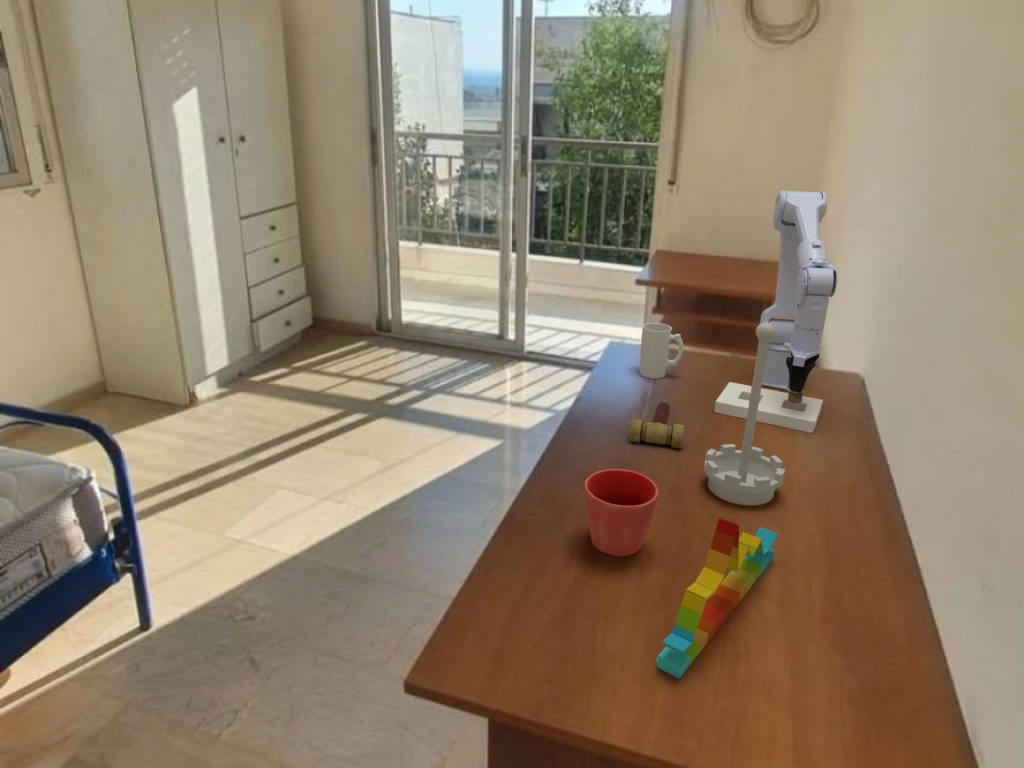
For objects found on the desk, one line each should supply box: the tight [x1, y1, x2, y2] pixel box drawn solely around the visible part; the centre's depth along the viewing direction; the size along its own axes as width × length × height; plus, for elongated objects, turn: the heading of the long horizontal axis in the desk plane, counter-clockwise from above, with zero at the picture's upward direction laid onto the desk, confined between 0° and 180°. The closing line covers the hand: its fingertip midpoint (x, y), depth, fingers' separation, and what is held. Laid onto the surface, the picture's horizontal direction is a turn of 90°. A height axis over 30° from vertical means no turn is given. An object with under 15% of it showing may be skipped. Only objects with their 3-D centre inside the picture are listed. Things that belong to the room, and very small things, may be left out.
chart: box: [656, 517, 778, 679], centre depth 94 cm, size 30×3×15 cm, turn 141°
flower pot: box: [583, 468, 659, 557], centre depth 108 cm, size 11×11×10 cm
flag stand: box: [703, 323, 786, 506], centre depth 120 cm, size 13×13×30 cm
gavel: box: [628, 401, 685, 450], centre depth 148 cm, size 21×5×10 cm
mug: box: [639, 322, 685, 380], centre depth 172 cm, size 10×7×12 cm, turn 69°
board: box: [713, 381, 824, 434], centre depth 156 cm, size 13×20×2 cm, turn 62°
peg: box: [786, 377, 808, 403], centre depth 151 cm, size 4×4×8 cm
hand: (797, 388), depth 151 cm, fingers closed on peg, 4 cm apart
